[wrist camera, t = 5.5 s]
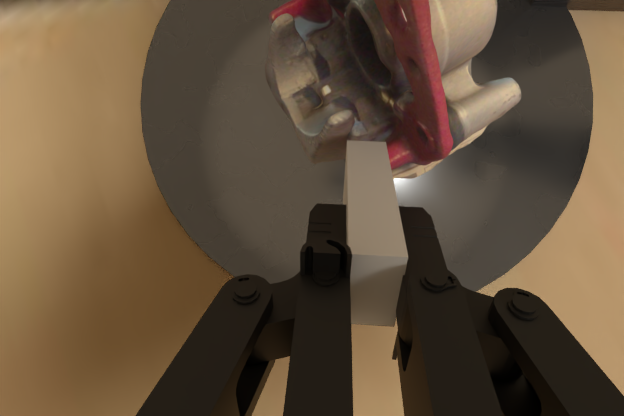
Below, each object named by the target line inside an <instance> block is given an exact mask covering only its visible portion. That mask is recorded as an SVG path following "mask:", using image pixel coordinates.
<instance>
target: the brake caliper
mask: <svg viewBox="0 0 624 416" xmlns="http://www.w3.org/2000/svg"><path fill="white" fill-rule="evenodd" d="M496 16H497V0H291V1H289V2H286V3H285V4H283V5H281V6H280V7H278V8H276V9H274V10H273V11H271V12H270V13H269V23H270V24H271V25H272V27H271V33H270V38H269V44H268V56H267V60H266V63H265V73H266V81H267V83H268V85H269V87H270V89H271V91H272V93H273V95H274V97H275V99H276V101H277V103H278V104H279V106H280V107H281V108H282V110H283V111H284V112H285V114H286V115H287V117H288V118H289V120H290V121H291V123H292V126H293V128H294V130H295V133H296V135H297V137H298V139H299V141H300V143H301V145H302V147H303V149H304V151H305V153H306V155H307V157H308V159H309V161H310V162H312V163H313V164H317V163H321V162H330V161H335V160H342V159H346V147H347V140H350V141H375V142H386V145H387V150H388V155H389V160H390V165H391V170H392V176H393V179H395V178H407V179H412V178H416V177H418V176H420V175H422V174H424V173H426V172H428V171H429V170H431V169H432V168H433V167H434V166H436V165H437V164H438V163H440V162H441V161H442V160H443V159H444V158H446V157H447V156H448V155H450V154H452V153H453V152H455V151H456V150H458V149H460V148H463V147H465V146H466V145H468V144H470V143H471V142H472V141H474V140H475V139H476V138H477V137H479V136H480V135H481V134H482V133H483V132H484V130H485V128H486V127H487V125H489V124H490V123H492V122H493V121H495V120H497V119H498V118H500V117H502V116H503V115H504V114H505V113H506V112H507V111H509V110H510V109H511V108H512V107H514V106H515V105H516V104H517V103H518V102H519V101H520V99H521V90H520V87H519V85H518V84H517V82H516V81H515V80H514V79H512V78H510V77H507V78H502V79H497V80H492V81H489V82H485V83H475V82H474V81H473V79H472V75H471V61H472V58H473V57H474V56H475V55H477V54H478V53H479V52H481V51H482V50H483V48H484V47H485V46H486V44H487V43H488V41H489V40H490V38H491V36H492V33H493V30H494V26H495V22H496Z"/></svg>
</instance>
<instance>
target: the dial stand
mask: <svg viewBox="0 0 624 416" xmlns="http://www.w3.org/2000/svg"><path fill="white" fill-rule="evenodd" d="M531 6H546V7H567V9H568V10H604V11H624V0H531Z"/></svg>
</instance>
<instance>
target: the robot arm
mask: <svg viewBox="0 0 624 416" xmlns="http://www.w3.org/2000/svg"><path fill="white" fill-rule="evenodd" d="M396 317H397V325H398V332H397V337H396V341H395V346H394V350H393V357H392V359H395V360H396V358H397V357H398V366H399V374H400V382H401V391H402V399H403V407H404V416H624V396H623V395H622V393H621V392H620V391H619V390H618V389H617V388H616V386H615V385H614V384H613V383H612V382H611V380H610V379H609V378H608V377H607V376H606V374H605V373H604V372H603V371H602V370H601V368H600V367H599V366H598V365H597V364H596V362H595V361H594V360H593V359H592V358H591V357H590V355H589V354H588V353H587V352H586V351H585V349H584V348H583V347H582V346H581V345H580V343H579V342H578V341H577V340H576V339H575V337H574V336H573V335H572V334H571V333H570V332H569V330H568V329H567V328H566V327H565V326H564V324H563V323H562V322H561V321H560V320H559V318H558V317H557V316H556V315H555V314H554V312H553V311H552V310H551V309H550V308H549V307H548V305H547V304H546V303H545V302H543V301H542V300H541V299H540V298H539V297H538V296H536V295H534V294H532V293H530V292H528V291H525V290H522V289H518V288H506V289H503V290H500V291H498V292H497V294H496V295H495V296H494V297H491V296H487V295H484V294H481V293H477V292H474V291H472V290H469V289H467V288H465V287H463V286H462V285H461V283H460V282H459V280H458V278H457V277H456V276H455V275H454V274H453V273H452V272H450V271H449V270H448V269H447V266H446V263H445V260H444V256H443V253H442V250H441V246H440V243H439V240H438V238H437V233H436V230H435V226H434V223H433V220H432V217H431V216H430V215H429V214H428V213H427V212H426V210H425V209H424V208H423V207H405V206H398V201H397V196H396V191H395V186H394V181H393V176H392V170H391V165H390V160H389V155H388V150H387V145H386V142H375V141H350V140H347V147H346V162H345V176H344V191H343V205H342V204H321V203H317V204H316V205H315V206H314V207H313V209H312V210H311V211H310V214H309V222H308V230H307V239H306V243H305V244H304V245H303V246H302V248H301V251H300V271H299V273H297V274H296V275H295V276H294V277H292V278H290V279H288V280H285V281H282V282H278V283H273V284H270V283H269V282H268V281H267V280H266V279H265V278H262V277H260V276H258V275H250V274H246V275H240V276H236V277H235V278H233V279H231V280H229V281H228V282H227V283H226V284H225V285H224V286H223V287H222V288H221V290H220V291H219V293H218V294H217V296H216V297H215V298H214V300H213V301H212V303H211V304H210V306H209V307H208V309H207V310H206V312H205V313H204V315H203V316H202V318H201V319H200V321H199V322H198V324H197V325H196V327H195V328H194V330H193V331H192V333H191V334H190V336H189V337H188V339H187V340H186V342H185V343H184V345H183V346H182V348H181V349H180V351H179V352H178V353H177V355H176V356H175V358H174V359H173V361H172V362H171V364H170V365H169V367H168V368H167V370H166V371H165V373H164V374H163V376H162V377H161V379H160V380H159V382H158V383H157V385H156V386H155V388H154V389H153V391H152V392H151V394H150V395H149V397H148V398H147V400H146V401H145V403H144V404H143V406H142V407H141V408H140V410H139V411H138V413H137V414H136V416H251V415H252V413H253V411H254V408H255V406H256V404H257V401H258V399H259V397H260V395H261V392H262V390H263V388H264V385H265V383H266V381H267V378H268V376H269V374H270V372H271V369H272V367H273V365H274V362H275V359H279V358H283V357H287V356H290V363H289V371H288V379H287V388H286V396H285V404H284V412H283V416H353V389H352V342H351V324H361V325H377V326H393V327H394V324H395V320H396Z"/></svg>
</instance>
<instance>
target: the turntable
mask: <svg viewBox="0 0 624 416" xmlns="http://www.w3.org/2000/svg"><path fill="white" fill-rule="evenodd" d="M289 1H291V0H171V1H170V2H169V4H168V6H167V8H166V9H165V11H164V13H163V15H162V17H161V19H160V21H159V23H158V25H157V28H156V30H155V33H154V36H153V39H152V42H151V45H150V47H149V50H148V54H147V59H146V64H145V69H144V73H143V79H142V93H141V116H142V131H143V137H144V141H145V146H146V151H147V156H148V160H149V163H150V165H151V168H152V171H153V174H154V177H155V179H156V182H157V185H158V187H159V189H160V191H161V193H162V195H163V197H164V198H165V200H166V202H167V204H168V206H169V208H170V210H171V212H172V213H173V214H174V216H175V217H176V219H177V220H178V221H179V223H180V224H181V225H182V227H183V228H184V230H185V231H186V232H187V234H188V235H189V236H190V237H191V238H192V239H193V240H194V241H195V243H196V244H197V245H198V246H199V247H200V248H201V249H202V250H203V251H204V252H205V253H206V254H207V255H208V256H209V257H210V258H211V259H213V260H214V261H215V262H216V263H218V264H219V265H220V266H221V267H223V268H224V269H225V270H226V271H228V272H229V273H230V274H231V275H233V276H234V277H236V276H240V275H246V274H250V275H258V276H260V277H262V278H265V279H266V280H267V281H268V282H269V283H270V284H273V283H278V282H282V281H285V280H288V279H290V278H292V277H294V276H295V275H296V274H297V273H299V271H300V251H301V248H302V246H303V245H304V244H305V243H306V239H307V230H308V222H309V214H310V211H311V210H312V209H313V207H314V206H315V205H316V204H317V203H321V204H342V205H343V191H344V176H345V162H346V159H342V160H335V161H330V162H321V163H317V164H313V163H312V162H310V161H309V159H308V157H307V155H306V153H305V151H304V149H303V147H302V145H301V143H300V141H299V139H298V137H297V135H296V133H295V130H294V128H293V126H292V123H291V121H290V120H289V118H288V117H287V115H286V114H285V112H284V111H283V110H282V108H281V107H280V106H279V104H278V103H277V101H276V99H275V97H274V95H273V93H272V91H271V89H270V87H269V85H268V83H267V81H266V73H265V63H266V60H267V56H268V44H269V38H270V33H271V27H272V25H271V24H270V23H269V13H270V12H271V11H273V10H274V9H276V8H278V7H280V6H281V5H283V4H285V3H286V2H289ZM471 75H472V79H473V81H474V82H475V83H485V82H489V81H492V80H497V79H502V78H507V77H510V78H512V79H514V80H515V81H516V82H517V84H518V85H519V87H520V90H521V99H520V101H519V102H518V103H517V104H516V105H515V106H514V107H512V108H511V109H510V110H509V111H507V112H506V113H505V114H504V115H503V116H502V117H500V118H498V119H497V120H495V121H493V122H492V123H490V124H489V125H487V127H486V128H485V130H484V132H483V133H482V134H481V135H480V136H479V137H477V138H476V139H475V140H474V141H472V142H471V143H470V144H468V145H466V146H465V147H463V148H460V149H458V150H456V151H455V152H453V153H452V154H450V155H448V156H447V157H446V158H444V159H443V160H442V161H441V162H440V163H438V164H437V165H436V166H434V167H433V168H432V169H431V170H429V171H428V172H426V173H424V174H422V175H420V176H418V177H416V178H412V179H407V178H395V179H393V181H394V186H395V191H396V196H397V201H398V206H405V207H423V208H424V209H425V210H426V212H427V213H428V214H429V215H430V216H431V217H432V220H433V223H434V226H435V230H436V233H437V238H438V240H439V243H440V246H441V250H442V253H443V256H444V260H445V263H446V266H447V269H448V270H449V271H450V272H452V273H453V274H454V275H455V276H456V277H457V278H458V280H459V282H460V283H461V285H462V286H463V287H465V288H467V289H469V290H472V291H474V292H475V291H478V290H479V289H481V288H483V287H484V286H486V285H488V284H489V283H491V282H492V281H494V280H496V279H497V278H499V277H501V276H502V275H504V274H505V273H506V272H508V271H509V270H510V269H511V268H513V267H514V266H515V265H516V264H517V263H519V262H520V261H521V260H522V259H523V258H525V257H526V256H527V255H528V254H529V253H530V252H531V251H532V250H533V249H534V248H535V247H536V246H537V245H538V243H539V242H540V241H541V240H542V239H543V238H544V237H545V236H546V235H547V233H548V232H549V231H550V230H551V228H552V227H553V225H554V224H555V222H556V221H557V219H558V218H559V216H560V215H561V214H562V212H563V211H564V209H565V208H566V206H567V204H568V202H569V200H570V198H571V196H572V194H573V192H574V189H575V187H576V185H577V183H578V181H579V179H580V176H581V173H582V169H583V166H584V163H585V160H586V156H587V153H588V149H589V142H590V136H591V130H592V123H593V91H592V84H591V76H590V69H589V64H588V60H587V57H586V53H585V50H584V46H583V42H582V39H581V37H580V34H579V32H578V30H577V28H576V25H575V23H574V21H573V18H572V16H571V14H570V12H569V11H568V9H567V7H546V6H531V0H497V16H496V22H495V26H494V30H493V33H492V36H491V38H490V40H489V41H488V43H487V44H486V46H485V47H484V48H483V50H482V51H481V52H479V53H478V54H477V55H475V56H474V57H473V58H472V61H471Z"/></svg>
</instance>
